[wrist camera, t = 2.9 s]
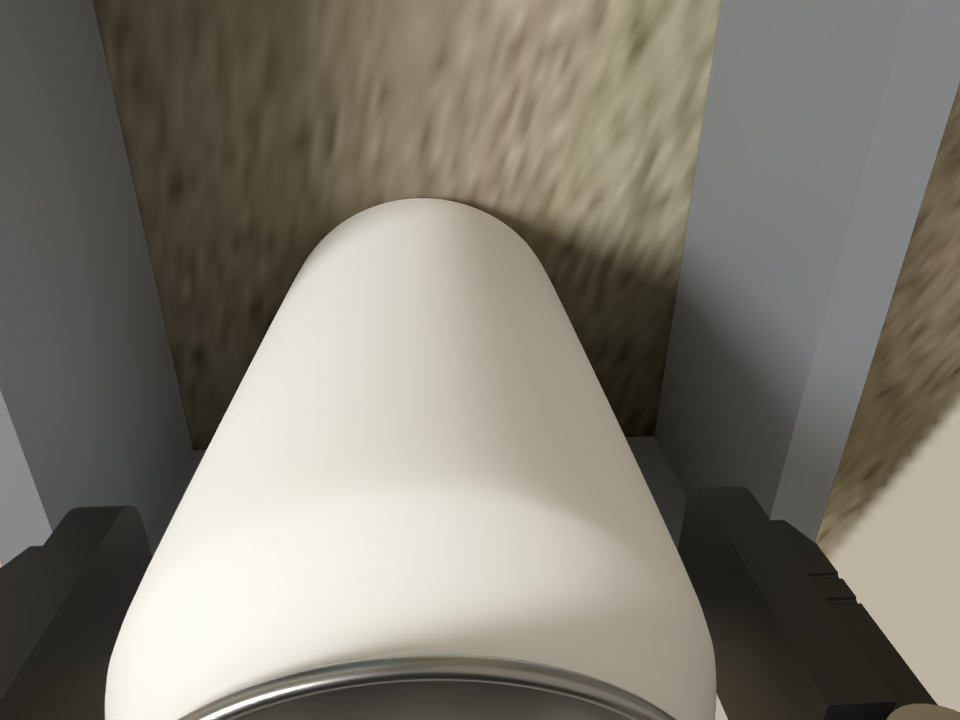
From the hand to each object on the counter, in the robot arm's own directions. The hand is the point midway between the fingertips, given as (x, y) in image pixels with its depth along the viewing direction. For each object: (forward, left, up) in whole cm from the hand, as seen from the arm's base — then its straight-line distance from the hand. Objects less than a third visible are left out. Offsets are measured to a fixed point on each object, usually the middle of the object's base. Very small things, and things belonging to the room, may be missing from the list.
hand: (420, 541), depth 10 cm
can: (0, 0, -8) cm, 8 cm away
